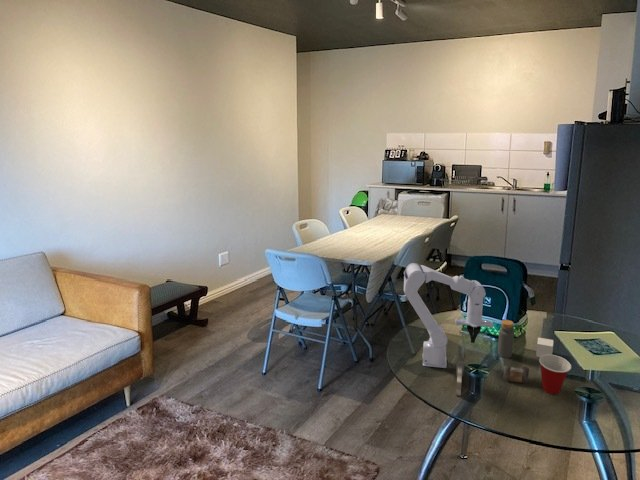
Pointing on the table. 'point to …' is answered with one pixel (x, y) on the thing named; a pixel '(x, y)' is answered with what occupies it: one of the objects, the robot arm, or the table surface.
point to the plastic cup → (553, 372)
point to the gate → (459, 381)
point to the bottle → (506, 339)
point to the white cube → (544, 347)
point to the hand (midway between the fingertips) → (472, 341)
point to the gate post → (459, 363)
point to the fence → (516, 374)
